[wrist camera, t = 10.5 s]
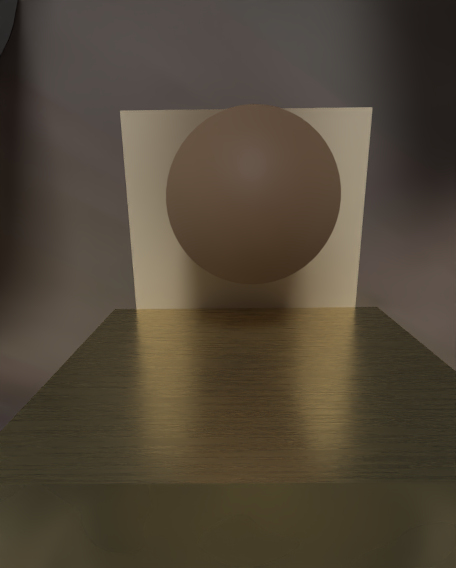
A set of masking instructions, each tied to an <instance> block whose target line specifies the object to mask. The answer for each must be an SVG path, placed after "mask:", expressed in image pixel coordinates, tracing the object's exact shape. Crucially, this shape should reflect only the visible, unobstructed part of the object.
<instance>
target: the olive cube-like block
mask: <svg viewBox="0 0 456 568" xmlns="http://www.w3.org/2000/svg"><path fill="white" fill-rule="evenodd" d="M0 568H456V371H455V370H453V369H452V368H451V367H450V366H448V365H447V364H446V363H445V362H444V361H442V360H441V359H440V358H439V357H437V356H436V355H435V354H434V353H433V352H431V351H430V350H429V349H428V348H427V347H425V346H424V345H423V344H422V343H420V342H419V341H418V340H417V339H416V338H414V337H413V336H412V335H411V334H409V333H408V332H407V331H406V330H405V329H403V328H402V327H401V326H400V325H398V324H397V323H396V322H395V321H394V320H392V319H391V318H390V317H389V316H387V315H386V314H385V313H384V312H383V311H381V310H380V309H379V308H378V307H319V308H208V309H115V310H114V311H113V312H112V313H111V314H110V315H109V316H108V317H107V318H106V319H105V320H104V321H103V323H102V324H101V325H100V326H99V327H98V328H97V329H96V330H95V331H94V332H93V333H92V334H91V335H90V336H89V338H88V339H87V340H86V341H85V342H84V343H83V344H82V345H81V346H80V347H79V348H78V349H77V350H76V351H75V353H74V354H73V355H72V356H71V357H70V358H69V359H68V360H67V361H66V362H65V363H64V364H63V365H62V366H61V368H60V369H59V370H58V371H57V372H56V373H55V374H54V375H53V376H52V377H51V378H50V379H49V380H48V381H47V382H46V384H45V385H44V386H43V387H42V388H41V389H40V390H39V391H38V392H37V393H36V394H35V395H34V396H33V397H32V399H31V400H30V401H29V402H28V403H27V404H26V405H25V406H24V407H23V408H22V409H21V410H20V411H19V412H18V414H17V415H16V416H15V417H14V418H13V419H12V420H11V421H10V422H9V423H8V424H7V425H6V426H5V427H4V429H3V430H2V431H1V432H0Z"/></svg>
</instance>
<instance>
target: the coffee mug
mask: <svg viewBox="0 0 456 568" xmlns="http://www.w3.org/2000/svg"><path fill="white" fill-rule="evenodd" d="M17 1H18V0H0V56H1V53H2V51H3V49H4V47H5V45H6V43H7V41H8V39H9V36H10V33H11V30H12V27H13V23H14V17H15V12H16V7H17Z"/></svg>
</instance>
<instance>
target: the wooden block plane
mask: <svg viewBox="0 0 456 568" xmlns="http://www.w3.org/2000/svg"><path fill="white" fill-rule="evenodd" d="M120 116H121V128H122V140H123V152H124V164H125V176H126V188H127V200H128V212H129V224H130V236H131V248H132V260H133V272H134V284H135V296H136V308H137V309H208V308H319V307H355V303H356V291H357V280H358V268H359V257H360V245H361V234H362V222H363V211H364V199H365V188H366V176H367V165H368V153H369V142H370V130H371V119H372V107H362V108H287V109H281V108H279V107H274V106H269V105H259V104H250V105H241V106H236V107H232V108H228V109H213V110H138V111H120Z"/></svg>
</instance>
